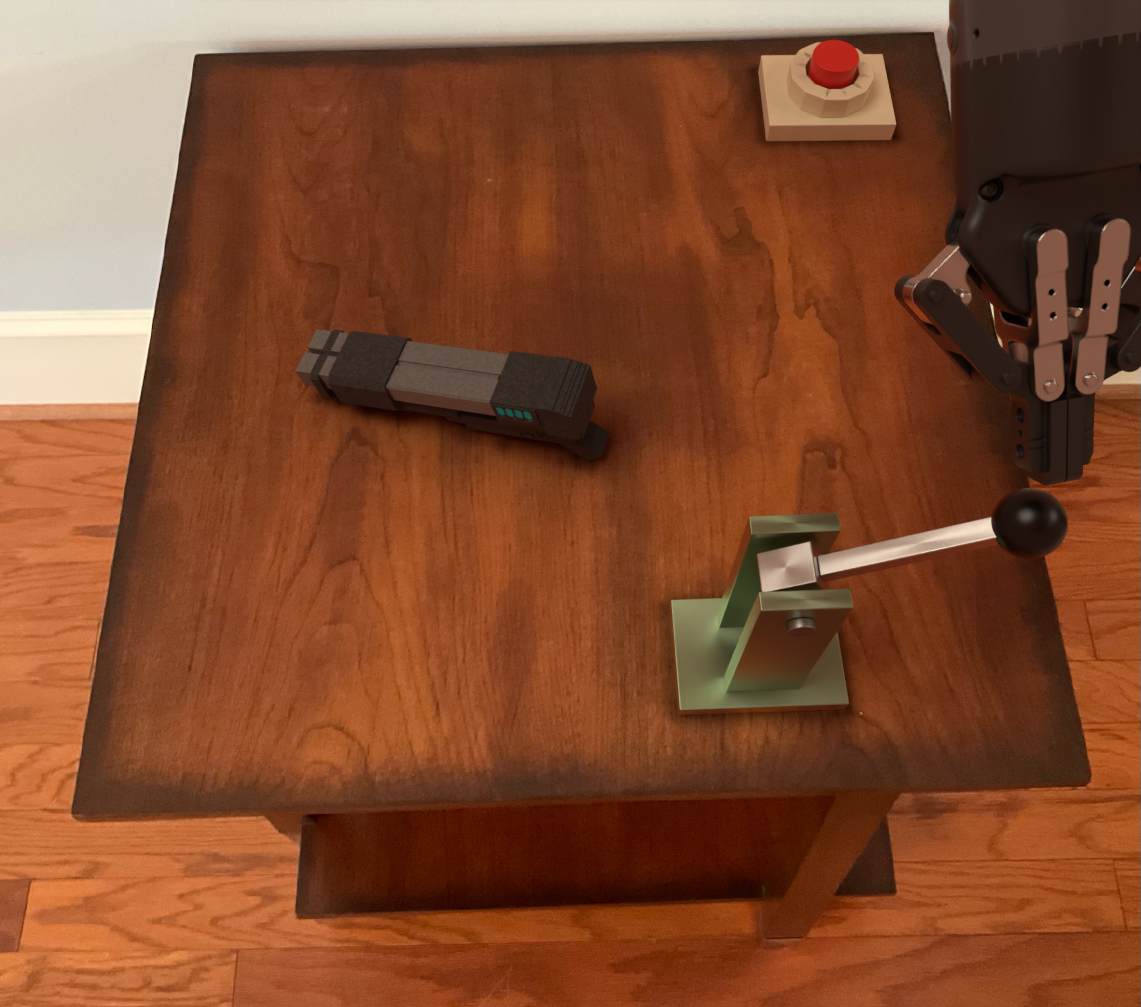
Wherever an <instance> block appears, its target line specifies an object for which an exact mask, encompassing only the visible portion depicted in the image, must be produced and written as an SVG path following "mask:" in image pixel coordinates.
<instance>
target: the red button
mask: <svg viewBox="0 0 1141 1007" xmlns="http://www.w3.org/2000/svg"><path fill="white" fill-rule="evenodd" d="M821 42H822V43H820V44H818V45H817V46H816V47H815V49H814V50H813V54H812V58H811V62H810V67H809V76H810V79H811V80H812V81H813V82H814V83H815V84H816V85H819V86H822V87H824V88H827V89H842V88H845V87H847V86H848V85H850V84H851V82H852V81H853V79H854V76H855V73H856V69H857V66H858V62H859V54H858V51H857V50H856V49H855V48H856V47H854V46H853V45H852V44H850V43H849V42H846V41H843V40H839V39H828V40H825V41H821Z"/></svg>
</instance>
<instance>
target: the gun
mask: <svg viewBox="0 0 1141 1007" xmlns="http://www.w3.org/2000/svg"><path fill="white" fill-rule="evenodd" d="M307 349H308V350H309V352H306V351H304V353H303V355H302V356H301V359H300V361H299V363H298V365H297V366H296V368H295V371H294V372H295V373H296V375H297V376H298V377H299V379H300V380H301V382H302V383H303V384H304V386H309V387H315V389H316V390H317V391H318V393H319V394H320V396H321V397H322V398H325V399H333V398H336V397H337V399H338V400H339V402H340V403H345V404H351V405H356V406H357V405H358V406H363V407H369V408H370V407H371V408H376V409H382V410H389V411H395V412H397V411H404V412H414V413H420V414H427V415H433V416H438V417H445V418H446V420H447V421H448V422H454V423H460V424H464V425H465V427H466V429H468V430H472V431H473V430H474V431H479V432H486V433H493V434H499V435H505V436H512V437H517V438H522V439H523V438H524V439H530V440H535V441H542V442H547V443H548V442H549V443H554V444H559V445H560V446H562V447H564V448H565V449H567V450H569V451H570V452H572V453H573V454H575V455H577V456H578V457H579V458H582V459H583V460H585V461H587V462H592V461H595V460H596V459H598V458H600V457H602V456H603V452H604V450H605V447H606V445H607V441H608V437H609V435H610V431H608V430H606V429H605V428H603V427H601V426H600V425H599V424H597V423H595V422H594V421H591V419H592V416H593V412H594V410H595V407H596V405H595V401H594V399H595V396H596V393H597V390H598V386H597V383H596V380H595V376H594V373H593V370H592V367H591V364H588V363H587V362H583V361H581V360H578V359H572V357H564V356H556V355H555V356H553V355H552V356H551V355H544V354H536V353H529V352H521V351H514V350H513V351H511V350H510V351H509V353H503V352H494V351H488V350H480V349H473V348H465V347H457V346H450V345H444V344H443V345H442V344H435V343H427V342H420V341H414V340H412V338H411V337H405V336H397V335H391V334H390V335H389V334H383V333H374V332H367V331H359V330H353V331H349V332H348V333H347V332H345V331H344V330H341V329H334V330H327V329H318V328H317V329H316V330H315V332H314V334H313V336H312V337H311V339H310V341H309V343H308V346H307Z"/></svg>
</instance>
